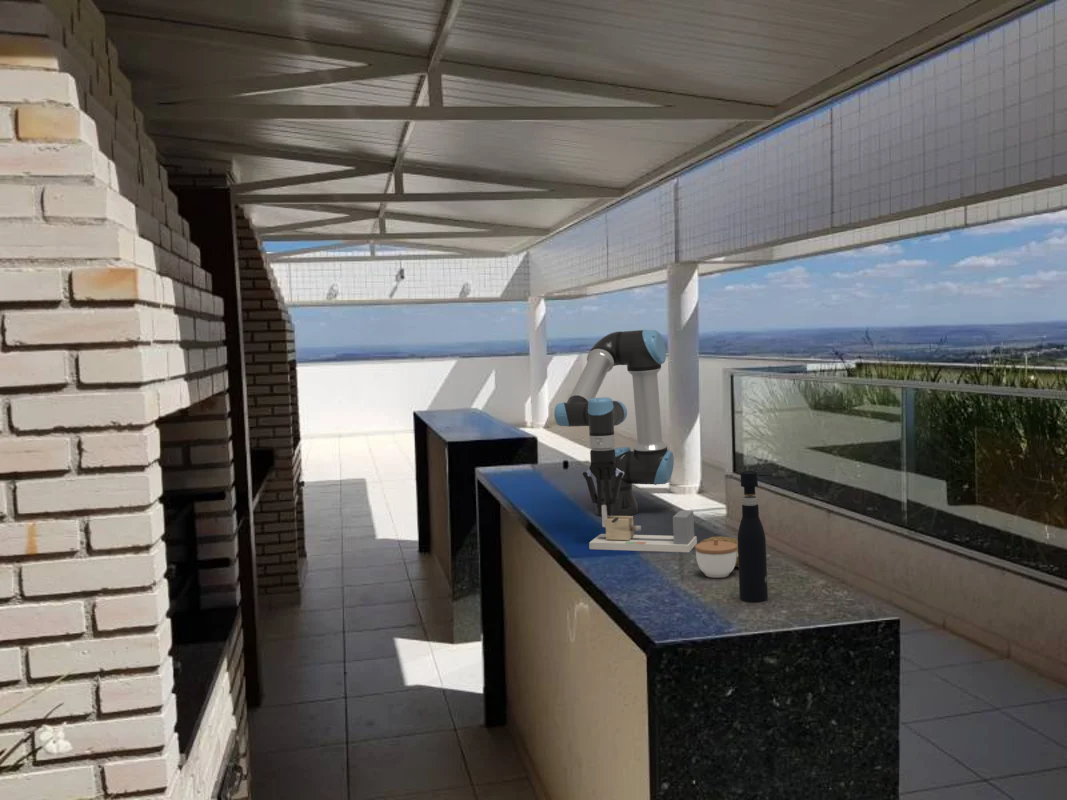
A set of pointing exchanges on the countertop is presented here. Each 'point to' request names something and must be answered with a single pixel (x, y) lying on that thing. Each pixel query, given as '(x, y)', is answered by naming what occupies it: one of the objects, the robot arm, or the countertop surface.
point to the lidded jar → (716, 557)
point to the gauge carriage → (620, 527)
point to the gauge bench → (655, 538)
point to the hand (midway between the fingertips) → (606, 526)
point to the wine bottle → (751, 545)
